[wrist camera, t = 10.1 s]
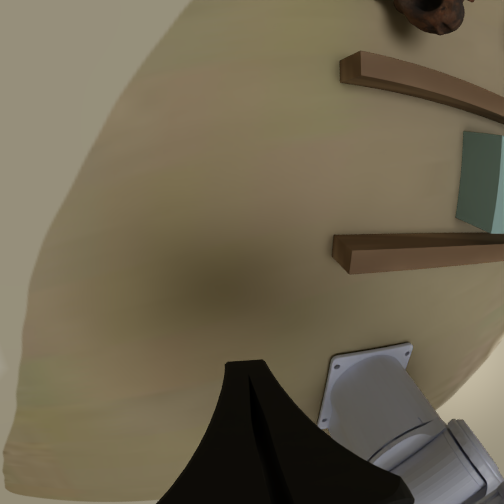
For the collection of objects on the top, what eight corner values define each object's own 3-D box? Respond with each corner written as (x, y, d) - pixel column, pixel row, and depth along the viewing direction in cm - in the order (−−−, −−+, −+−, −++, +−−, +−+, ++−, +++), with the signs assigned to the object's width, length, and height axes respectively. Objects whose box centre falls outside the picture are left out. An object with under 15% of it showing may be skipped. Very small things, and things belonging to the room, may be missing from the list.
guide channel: (515, 246, 24) (535, 257, 21) (331, 256, 21) (349, 274, 18) (529, 120, 19) (551, 123, 16) (339, 60, 17) (360, 50, 14)
